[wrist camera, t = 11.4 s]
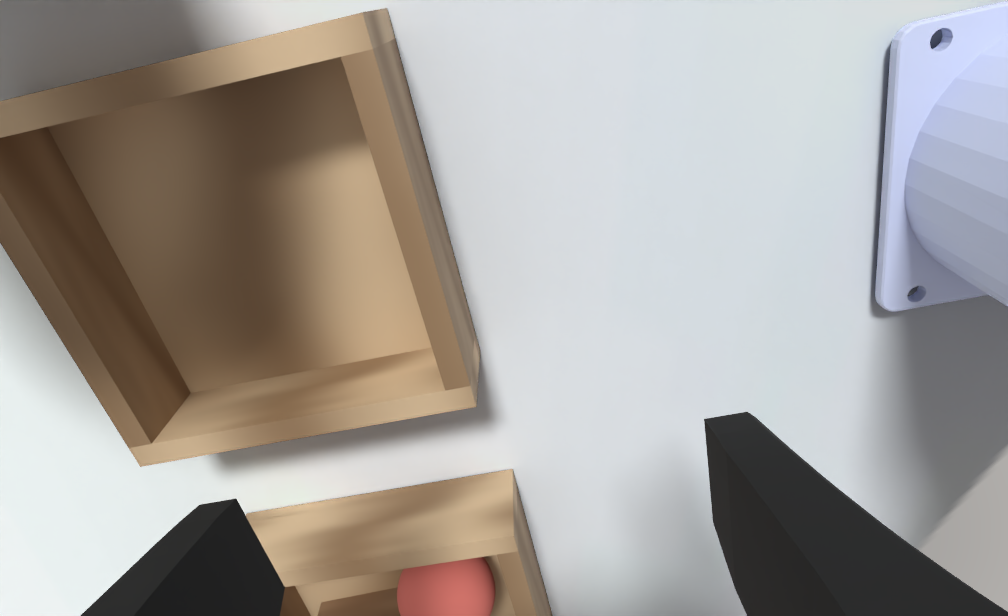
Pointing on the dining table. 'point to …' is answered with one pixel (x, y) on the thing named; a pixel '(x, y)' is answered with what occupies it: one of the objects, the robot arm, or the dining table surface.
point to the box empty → (242, 242)
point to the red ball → (447, 589)
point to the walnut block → (363, 605)
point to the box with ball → (403, 542)
